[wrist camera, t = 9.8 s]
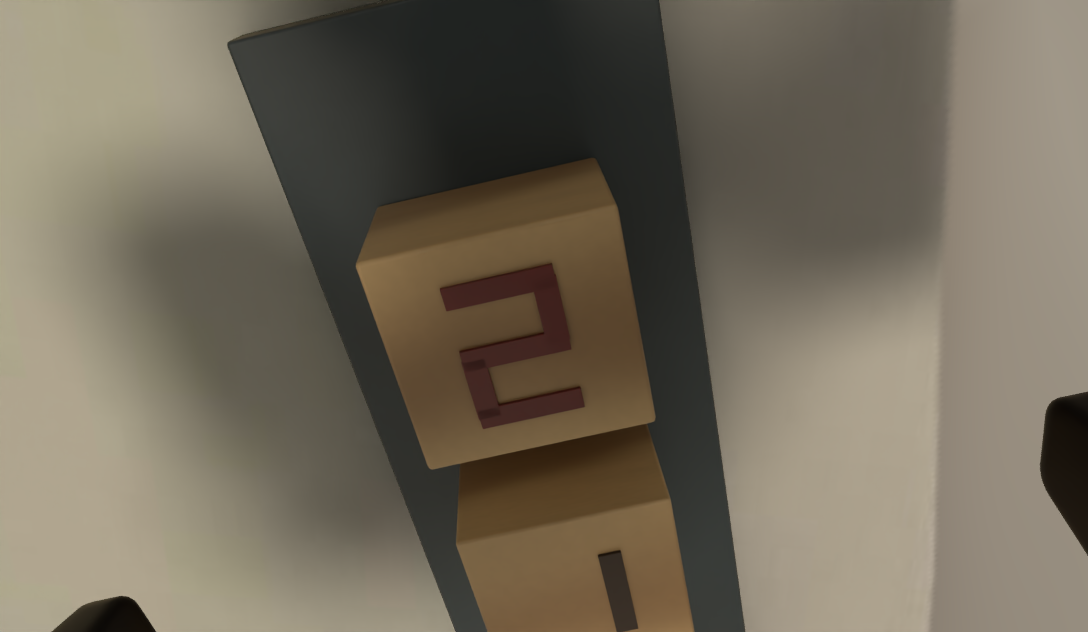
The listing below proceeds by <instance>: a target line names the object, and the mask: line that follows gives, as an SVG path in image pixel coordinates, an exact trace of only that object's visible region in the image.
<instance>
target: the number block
mask: <svg viewBox="0 0 1088 632" xmlns="http://www.w3.org/2000/svg"><path fill="white" fill-rule="evenodd" d="M356 269H357V272H358V274H359V277H360V280H361V283H362V286H363V288H364V291H365V294H366V297H367V299H368V302H369V305H370V308H371V310H372V313H373V316H374V319H375V321H376V324H377V327H378V330H379V333H380V335H381V338H382V341H383V344H384V346H385V349H386V352H387V355H388V357H389V360H390V363H391V366H392V369H393V371H394V374H395V377H396V380H397V382H398V385H399V388H400V391H401V393H402V396H403V399H404V402H405V404H406V407H407V410H408V413H409V416H410V418H411V421H412V424H413V427H414V429H415V432H416V435H417V438H418V440H419V443H420V446H421V449H422V452H423V454H424V457H425V460H426V463H427V465H428V467H429V468H430V469H437V468H442V467H447V466H451V465H456V464H461V463H465V462H470V461H475V460H479V459H484V458H489V457H493V456H498V455H503V454H507V453H512V452H517V451H521V450H526V449H530V448H535V447H540V446H544V445H549V444H554V443H558V442H563V441H568V440H572V439H577V438H582V437H586V436H591V435H596V434H600V433H605V432H610V431H614V430H619V429H623V428H628V427H633V426H637V425H642V424H647V423H651V422H654V421H655V417H656V416H655V411H654V405H653V400H652V394H651V388H650V383H649V377H648V372H647V366H646V361H645V355H644V350H643V344H642V339H641V333H640V328H639V322H638V316H637V311H636V305H635V300H634V294H633V289H632V283H631V278H630V272H629V267H628V261H627V255H626V250H625V244H624V239H623V233H622V228H621V222H620V217H619V211H618V207H617V205H616V202H615V200H614V198H613V196H612V193H611V191H610V189H609V187H608V184H607V182H606V180H605V178H604V175H603V173H602V171H601V169H600V166H599V164H598V162H597V160H596V159H595V158H588V159H584V160H580V161H575V162H571V163H567V164H562V165H558V166H553V167H549V168H545V169H540V170H536V171H532V172H527V173H523V174H519V175H514V176H510V177H506V178H501V179H497V180H493V181H488V182H484V183H480V184H475V185H471V186H467V187H462V188H458V189H454V190H449V191H445V192H440V193H436V194H432V195H427V196H423V197H419V198H414V199H410V200H406V201H401V202H397V203H393V204H388V205H384V206H380V207H378V208H377V210H376V212H375V215H374V217H373V220H372V223H371V225H370V228H369V231H368V233H367V236H366V239H365V241H364V244H363V246H362V249H361V252H360V254H359V257H358V260H357V262H356Z"/></svg>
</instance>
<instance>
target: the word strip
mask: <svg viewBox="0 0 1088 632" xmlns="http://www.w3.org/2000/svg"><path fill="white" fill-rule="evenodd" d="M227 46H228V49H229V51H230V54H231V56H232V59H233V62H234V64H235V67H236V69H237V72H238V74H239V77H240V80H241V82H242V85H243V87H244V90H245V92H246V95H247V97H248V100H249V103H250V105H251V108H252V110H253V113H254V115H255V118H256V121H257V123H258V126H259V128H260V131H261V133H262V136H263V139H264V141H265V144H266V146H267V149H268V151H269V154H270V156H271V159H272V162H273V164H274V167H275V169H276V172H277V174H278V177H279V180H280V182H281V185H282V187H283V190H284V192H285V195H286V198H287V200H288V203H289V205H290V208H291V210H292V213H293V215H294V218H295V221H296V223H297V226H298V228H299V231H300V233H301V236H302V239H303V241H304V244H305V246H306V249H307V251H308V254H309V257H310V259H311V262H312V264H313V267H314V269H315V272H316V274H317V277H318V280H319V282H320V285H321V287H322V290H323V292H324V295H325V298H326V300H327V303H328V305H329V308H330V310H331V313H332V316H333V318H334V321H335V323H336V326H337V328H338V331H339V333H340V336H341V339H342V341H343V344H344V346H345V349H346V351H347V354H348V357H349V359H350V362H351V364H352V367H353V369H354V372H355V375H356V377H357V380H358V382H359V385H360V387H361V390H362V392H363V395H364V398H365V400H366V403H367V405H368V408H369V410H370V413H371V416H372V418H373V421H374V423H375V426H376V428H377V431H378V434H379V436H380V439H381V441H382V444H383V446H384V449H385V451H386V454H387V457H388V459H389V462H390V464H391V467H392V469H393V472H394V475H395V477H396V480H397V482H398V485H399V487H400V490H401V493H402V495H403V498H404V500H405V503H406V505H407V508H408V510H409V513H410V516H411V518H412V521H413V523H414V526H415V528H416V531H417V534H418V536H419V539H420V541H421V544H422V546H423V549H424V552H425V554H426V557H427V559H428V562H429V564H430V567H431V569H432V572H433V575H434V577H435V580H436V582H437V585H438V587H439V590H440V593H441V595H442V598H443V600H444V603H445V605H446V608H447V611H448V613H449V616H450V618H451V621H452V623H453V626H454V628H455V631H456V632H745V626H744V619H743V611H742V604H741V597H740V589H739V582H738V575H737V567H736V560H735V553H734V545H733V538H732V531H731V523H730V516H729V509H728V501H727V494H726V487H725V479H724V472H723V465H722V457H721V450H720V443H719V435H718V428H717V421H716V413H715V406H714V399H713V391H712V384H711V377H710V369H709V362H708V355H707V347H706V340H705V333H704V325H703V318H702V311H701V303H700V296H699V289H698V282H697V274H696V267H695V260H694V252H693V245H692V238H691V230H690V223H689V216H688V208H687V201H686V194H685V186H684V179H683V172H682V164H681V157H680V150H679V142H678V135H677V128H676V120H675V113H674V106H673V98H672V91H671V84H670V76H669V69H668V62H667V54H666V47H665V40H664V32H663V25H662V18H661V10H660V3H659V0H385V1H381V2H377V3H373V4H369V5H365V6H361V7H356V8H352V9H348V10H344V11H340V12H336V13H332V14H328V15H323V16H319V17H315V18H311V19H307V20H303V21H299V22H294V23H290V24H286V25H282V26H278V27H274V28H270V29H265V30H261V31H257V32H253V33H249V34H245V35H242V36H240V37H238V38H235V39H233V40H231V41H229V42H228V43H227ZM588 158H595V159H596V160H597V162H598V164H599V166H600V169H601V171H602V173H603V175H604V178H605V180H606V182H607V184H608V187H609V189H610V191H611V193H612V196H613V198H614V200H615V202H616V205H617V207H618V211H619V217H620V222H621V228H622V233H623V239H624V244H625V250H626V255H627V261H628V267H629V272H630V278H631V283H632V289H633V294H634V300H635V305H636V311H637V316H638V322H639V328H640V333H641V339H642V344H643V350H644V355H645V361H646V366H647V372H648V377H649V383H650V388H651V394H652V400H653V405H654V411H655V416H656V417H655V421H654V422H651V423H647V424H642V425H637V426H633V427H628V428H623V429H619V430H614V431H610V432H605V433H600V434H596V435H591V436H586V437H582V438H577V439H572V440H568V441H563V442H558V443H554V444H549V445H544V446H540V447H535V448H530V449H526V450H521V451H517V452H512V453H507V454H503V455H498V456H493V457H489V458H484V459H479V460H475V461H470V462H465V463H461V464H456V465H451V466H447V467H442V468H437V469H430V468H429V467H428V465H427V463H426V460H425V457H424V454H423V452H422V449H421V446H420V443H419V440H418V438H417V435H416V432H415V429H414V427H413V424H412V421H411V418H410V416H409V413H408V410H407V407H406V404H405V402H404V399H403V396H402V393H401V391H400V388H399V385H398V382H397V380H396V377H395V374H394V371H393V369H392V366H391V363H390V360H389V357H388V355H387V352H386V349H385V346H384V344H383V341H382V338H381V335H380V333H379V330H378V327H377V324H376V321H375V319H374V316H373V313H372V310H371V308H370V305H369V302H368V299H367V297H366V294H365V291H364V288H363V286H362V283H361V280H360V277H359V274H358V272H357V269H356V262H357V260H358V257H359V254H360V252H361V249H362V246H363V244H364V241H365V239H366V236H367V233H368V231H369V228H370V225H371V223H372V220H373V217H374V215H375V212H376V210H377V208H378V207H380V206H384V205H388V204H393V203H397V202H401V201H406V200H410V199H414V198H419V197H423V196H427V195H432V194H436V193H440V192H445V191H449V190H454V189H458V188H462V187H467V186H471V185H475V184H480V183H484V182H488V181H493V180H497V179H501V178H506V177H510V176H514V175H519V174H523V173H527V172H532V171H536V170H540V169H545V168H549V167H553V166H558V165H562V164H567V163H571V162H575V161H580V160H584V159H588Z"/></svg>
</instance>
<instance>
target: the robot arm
mask: <svg viewBox="0 0 1088 632" xmlns="http://www.w3.org/2000/svg"><path fill="white" fill-rule="evenodd" d="M1040 471H1041V477H1042V481H1043V484H1044V486H1045V488H1046V491H1047V492H1048V494H1049V496H1050V497H1051V499H1052V501H1053V502H1054V504H1055V505H1056V507H1057V508H1058V510H1059V511H1060V513H1061V515H1062V516H1063V518H1064V519H1065V521H1066V522H1067V524H1068V525H1069V527H1070V528H1071V530H1072V531H1073V533H1074V535H1075V536H1076V538H1077V539H1078V541H1079V542H1080V544H1081V546H1082V547H1083V549H1084V550H1085V552H1086V553H1087V555H1088V392H1084V393H1079V394H1075V395H1070V396H1065V397H1060V398H1057V399H1055V400H1053V401H1052V402H1051V403H1050V404H1049V406H1048V408H1047V410H1046V414H1045V424H1044V434H1043V443H1042V452H1041V462H1040ZM52 632H156V631H155V629H154V628H153V626H152V625H151V623H150V622H149V620H148V619H147V617H146V616H145V614H144V613H143V611H142V610H141V608H140V607H139V605H138V604H137V603H136V602H135V601H134V600H133V599H131V598H129V597H126V596H118V597H113V598H108V599H104V600H99V601H94V602H91V603H88V604H85V605H83V606H81V607H80V608H79V609H77V610H76V611H75V612H74V613H73V614H72V615H70V616H69V617H68V618H67V619H66V620H65V621H64V622H62V623H61V624H60V625H59V626H58V627H57V628H55V629H54V630H53V631H52Z"/></svg>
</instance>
